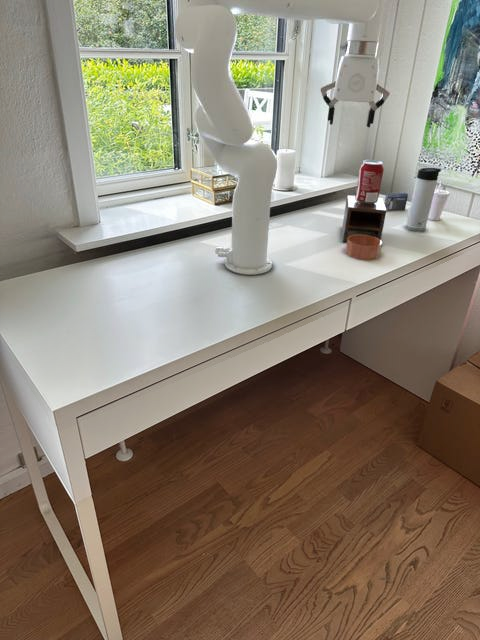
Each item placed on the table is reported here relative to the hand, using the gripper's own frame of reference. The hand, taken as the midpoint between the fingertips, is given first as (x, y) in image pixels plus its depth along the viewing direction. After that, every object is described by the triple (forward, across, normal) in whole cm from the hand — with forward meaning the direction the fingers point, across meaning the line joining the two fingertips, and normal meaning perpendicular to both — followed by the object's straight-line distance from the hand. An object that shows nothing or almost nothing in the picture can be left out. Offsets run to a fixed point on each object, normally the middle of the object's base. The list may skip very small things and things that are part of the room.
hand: (349, 125), depth 124 cm
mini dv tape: (+33, +23, +44) cm, 60 cm away
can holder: (+34, +9, -3) cm, 35 cm away
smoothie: (+33, +36, +37) cm, 62 cm away
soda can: (+23, +9, +11) cm, 27 cm away
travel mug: (+34, +28, +24) cm, 50 cm away
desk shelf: (+34, +9, +11) cm, 37 cm away
